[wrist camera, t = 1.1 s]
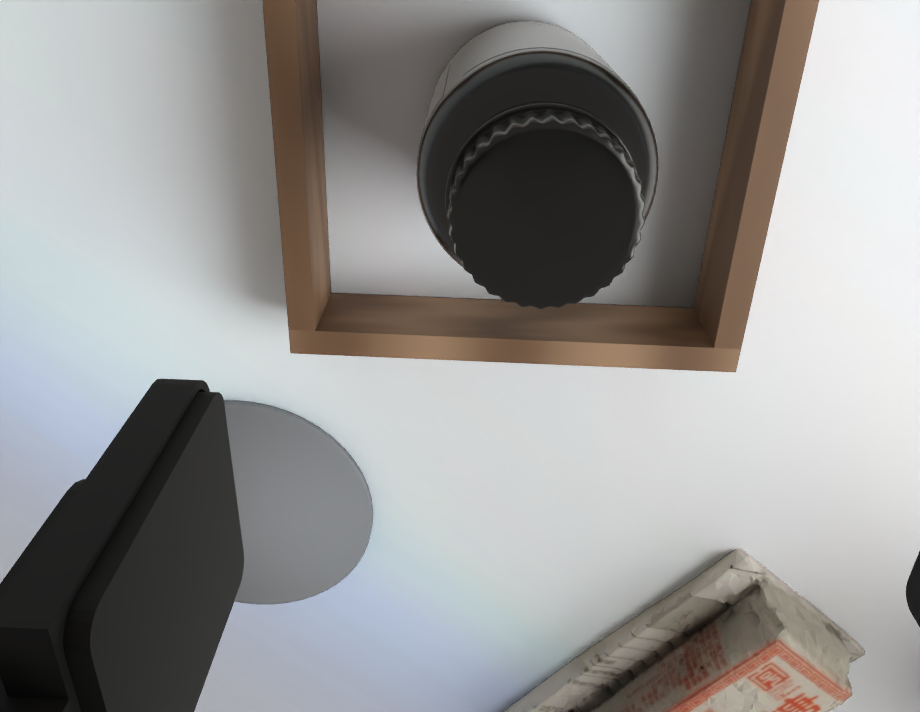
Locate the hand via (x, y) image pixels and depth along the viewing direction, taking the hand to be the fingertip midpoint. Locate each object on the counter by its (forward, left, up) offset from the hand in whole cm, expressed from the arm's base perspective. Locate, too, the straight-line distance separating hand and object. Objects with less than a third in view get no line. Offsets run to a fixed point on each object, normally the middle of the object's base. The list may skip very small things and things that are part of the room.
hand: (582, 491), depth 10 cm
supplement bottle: (0, 0, -22) cm, 22 cm away
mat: (+12, +19, -22) cm, 32 cm away
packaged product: (-10, +30, -23) cm, 39 cm away
